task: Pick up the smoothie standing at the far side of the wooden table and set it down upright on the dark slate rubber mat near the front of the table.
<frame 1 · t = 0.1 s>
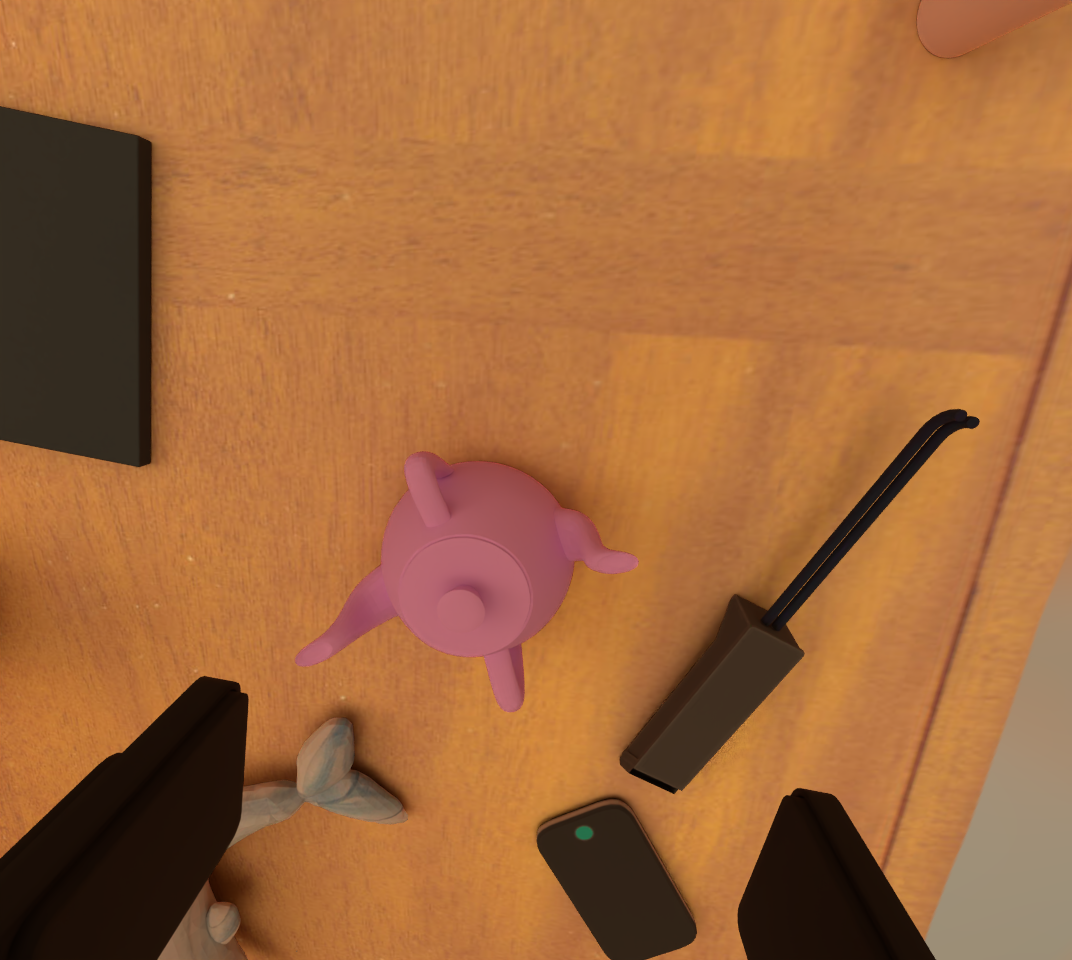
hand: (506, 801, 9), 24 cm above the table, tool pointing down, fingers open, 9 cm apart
sculpture: (293, 846, 42), on the table
hook tool: (763, 608, 35), on the table
mat: (29, 290, 31), on the table
smoothie: (953, 15, 26), on the table
smartphone: (617, 876, 41), on the table
teapot: (480, 542, 34), on the table
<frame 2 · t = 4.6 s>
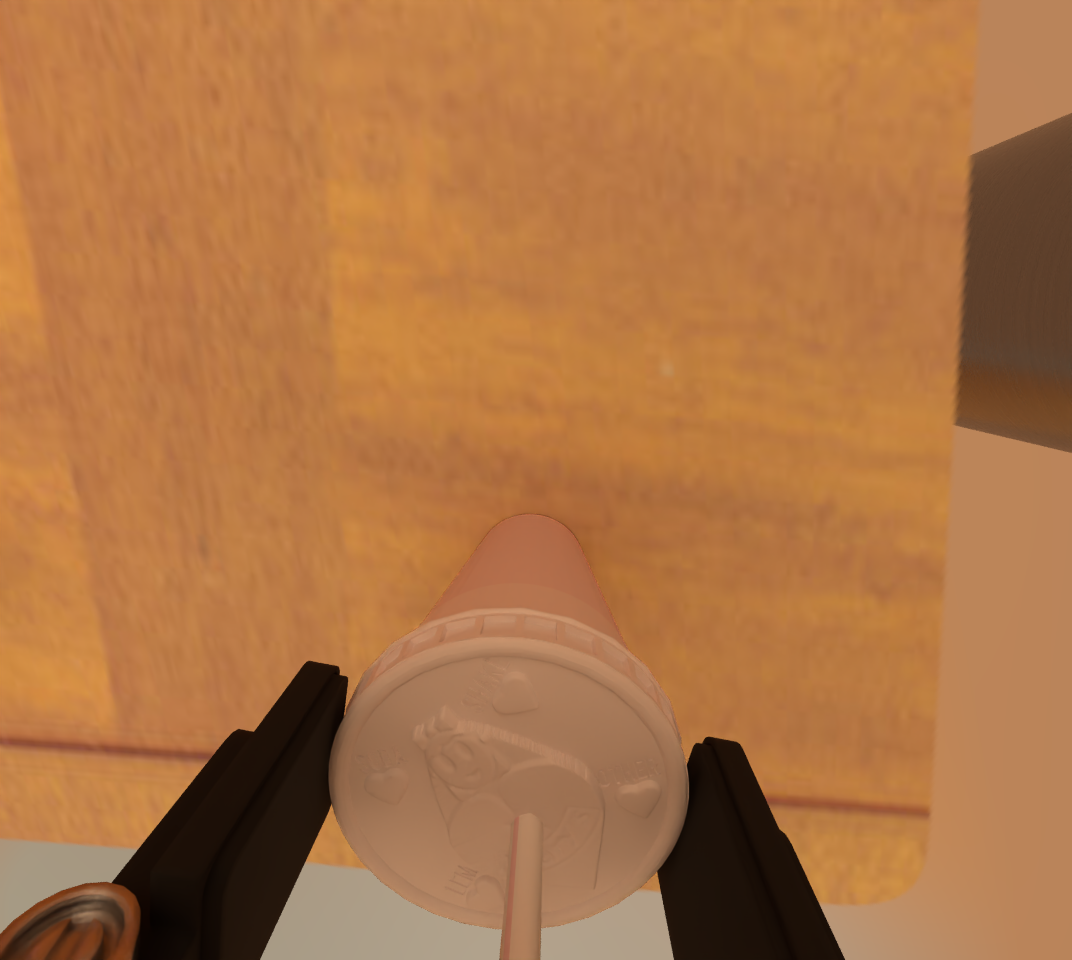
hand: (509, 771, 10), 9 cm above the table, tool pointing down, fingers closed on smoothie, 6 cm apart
smoothie: (530, 561, 19), on the table, touching gripper
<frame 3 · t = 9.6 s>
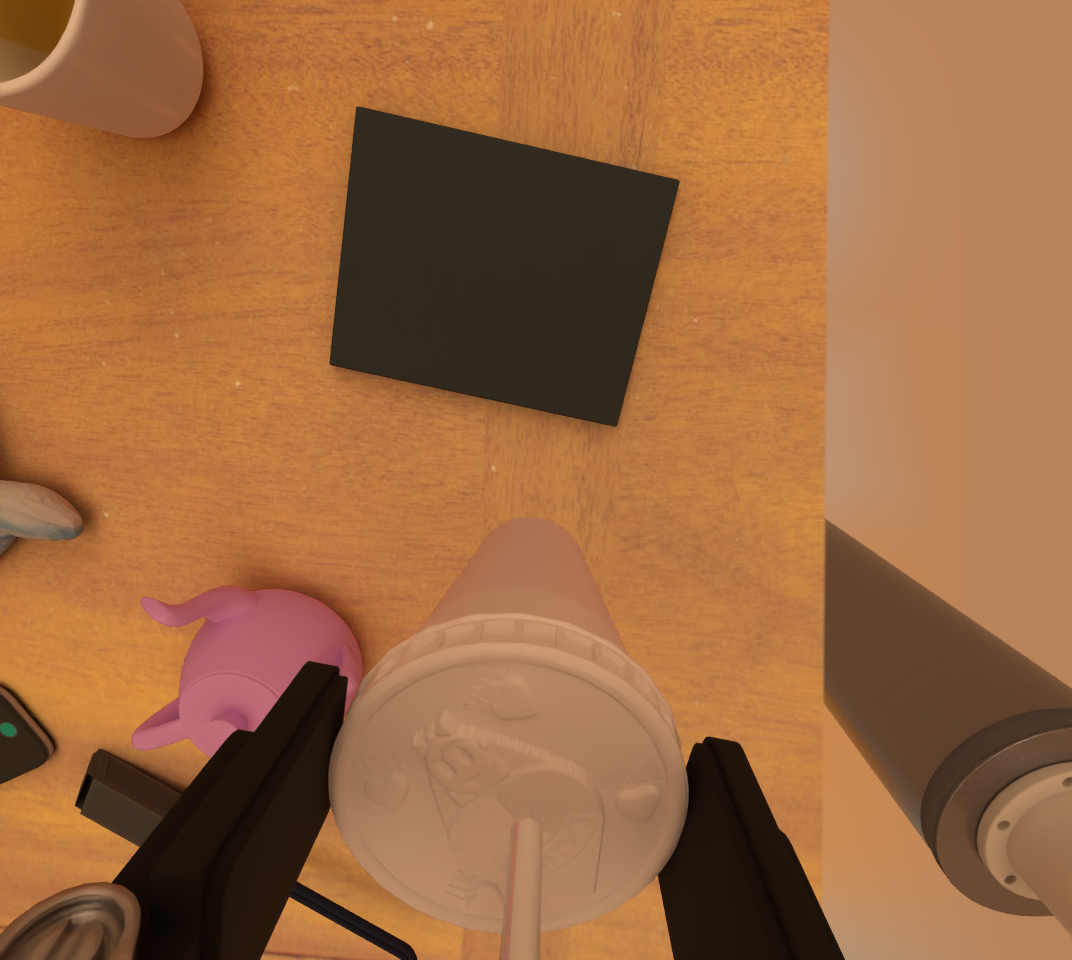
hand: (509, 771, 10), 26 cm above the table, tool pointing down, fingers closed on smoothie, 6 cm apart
hook tool: (264, 840, 44), on the table
mat: (497, 278, 32), on the table
smoothie: (530, 564, 19), point 17 cm above the table, touching gripper
teapot: (292, 646, 39), on the table
mug: (131, 39, 29), on the table
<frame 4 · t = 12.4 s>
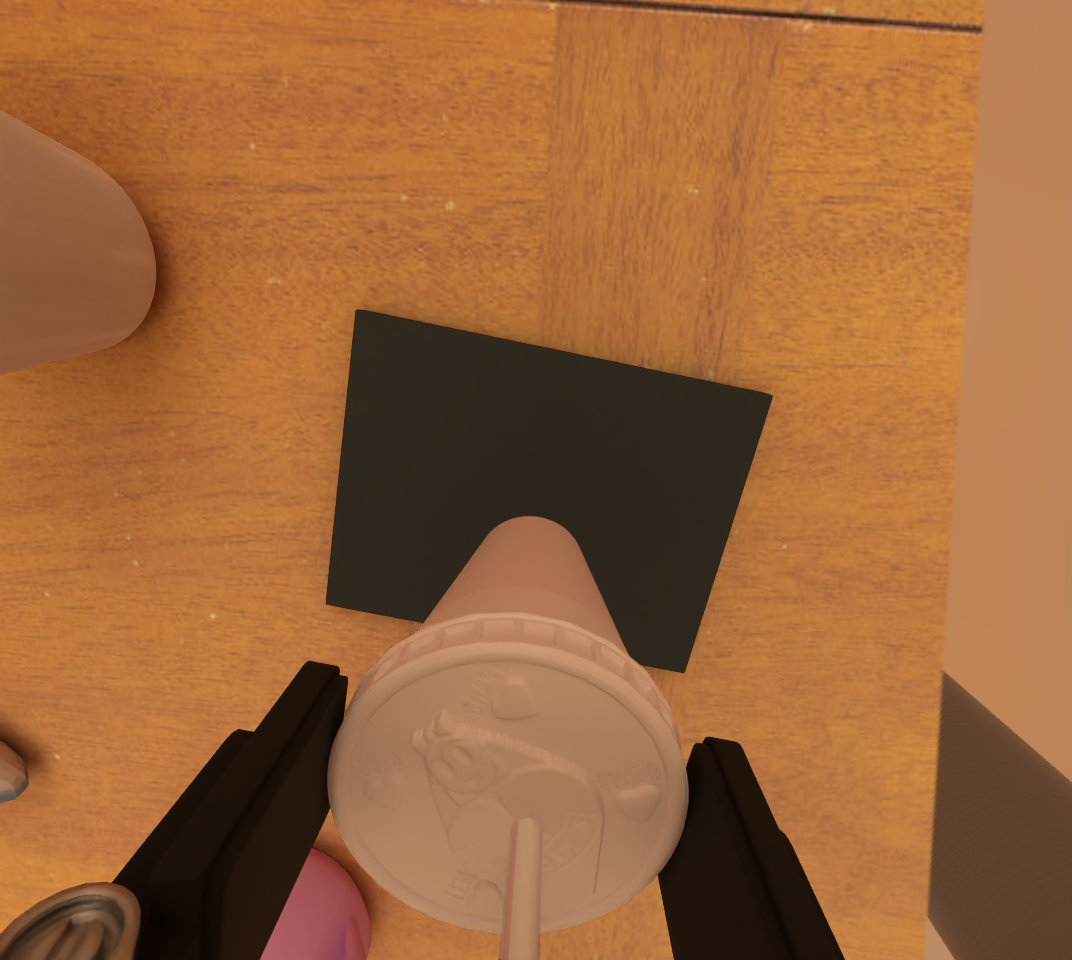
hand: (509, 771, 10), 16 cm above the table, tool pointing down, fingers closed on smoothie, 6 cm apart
mat: (534, 500, 25), on the table
smoothie: (530, 563, 19), point 7 cm above the table, touching gripper
teapot: (285, 894, 33), on the table
mug: (65, 223, 23), on the table
when the fingers open (10 cm above the table, at t = 14.4 s): smoothie stays where it is, resting on mat.
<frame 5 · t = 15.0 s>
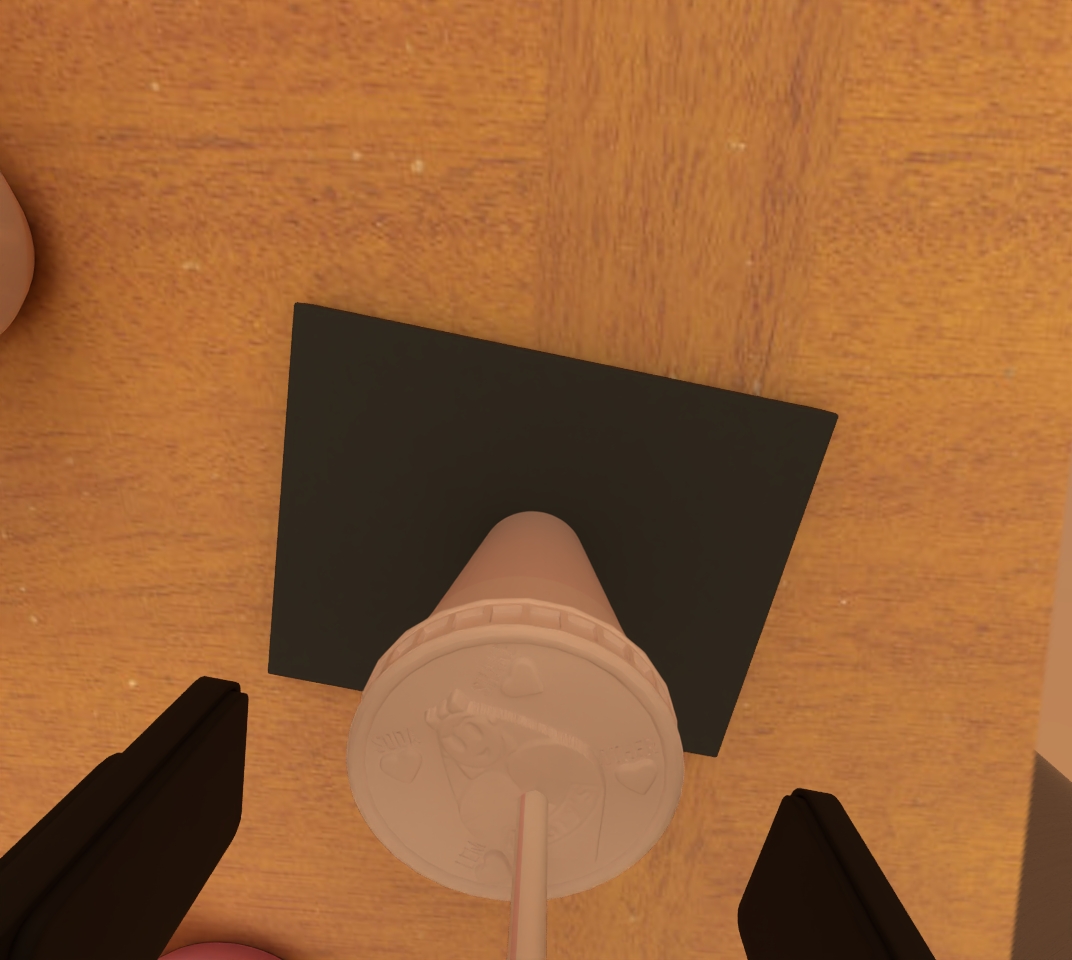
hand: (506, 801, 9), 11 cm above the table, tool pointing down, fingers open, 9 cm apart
mat: (529, 544, 20), on the table
smoothie: (532, 557, 19), point 1 cm above the table, touching mat
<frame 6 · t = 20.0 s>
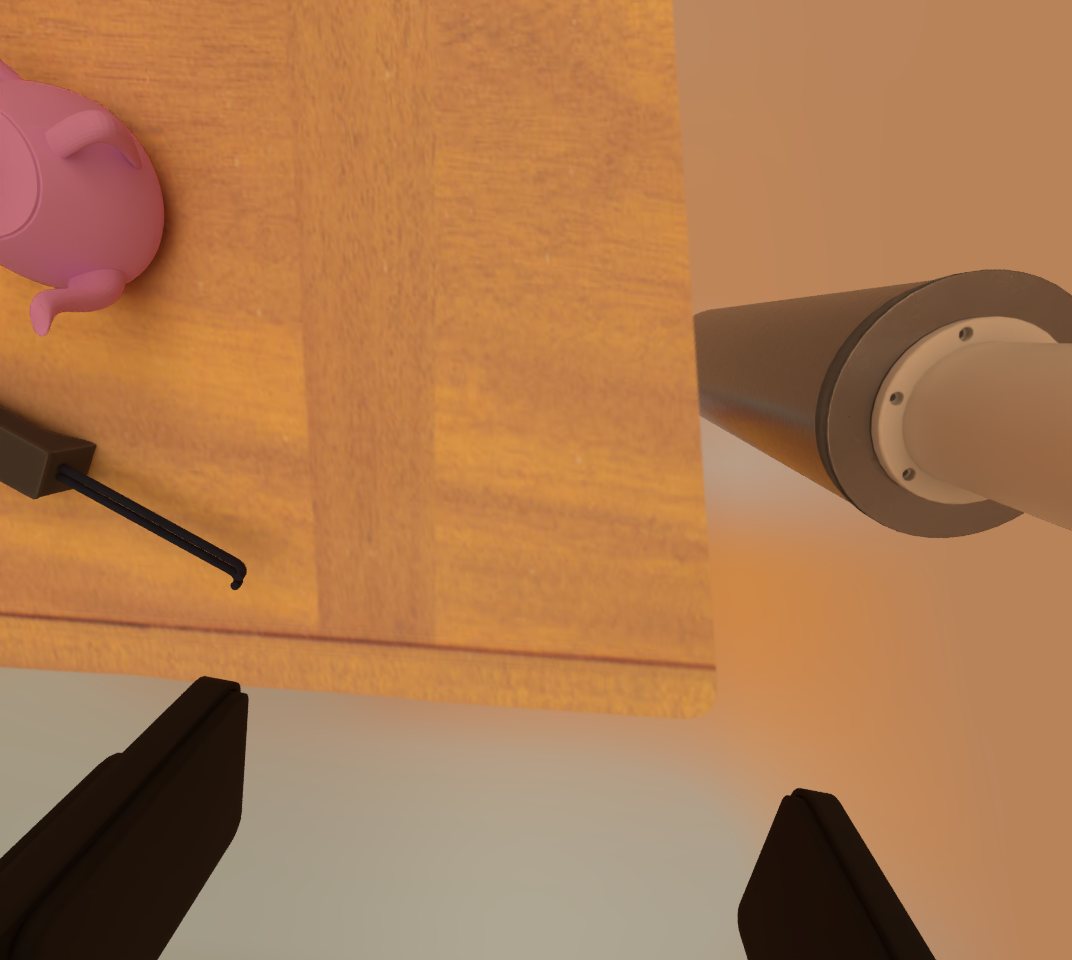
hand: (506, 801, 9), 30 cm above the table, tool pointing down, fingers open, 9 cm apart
hook tool: (89, 470, 40), on the table
teapot: (92, 199, 35), on the table
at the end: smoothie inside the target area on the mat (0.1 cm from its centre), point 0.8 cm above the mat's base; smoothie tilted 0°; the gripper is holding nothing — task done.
